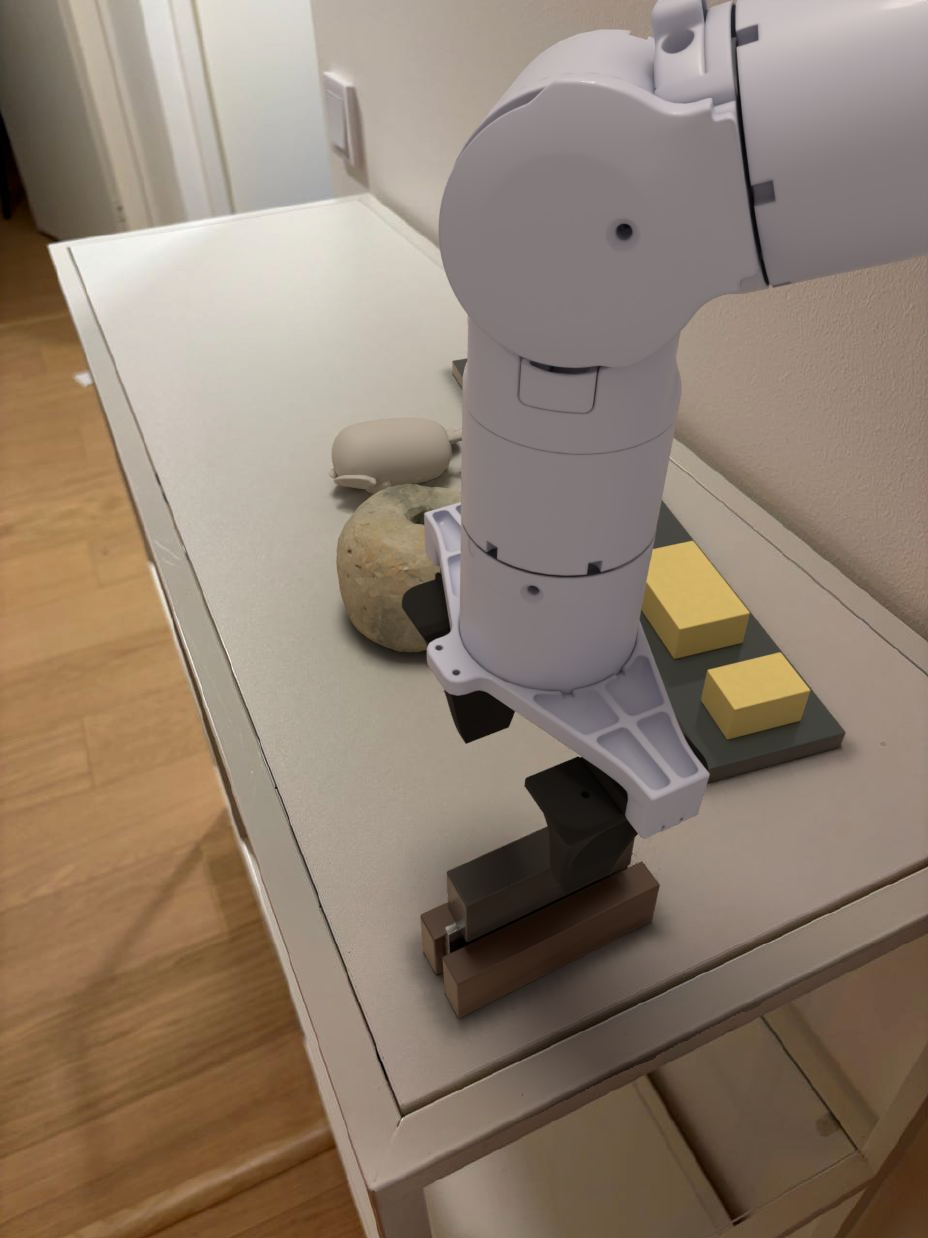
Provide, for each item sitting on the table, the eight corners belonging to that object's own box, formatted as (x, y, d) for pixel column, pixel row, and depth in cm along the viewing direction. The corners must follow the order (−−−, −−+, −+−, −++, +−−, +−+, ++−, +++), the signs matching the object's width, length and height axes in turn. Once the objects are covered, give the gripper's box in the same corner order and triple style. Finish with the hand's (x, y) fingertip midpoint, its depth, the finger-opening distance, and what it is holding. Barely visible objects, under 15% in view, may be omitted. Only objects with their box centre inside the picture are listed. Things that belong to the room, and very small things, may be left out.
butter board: (841, 747, 52) (846, 732, 51) (705, 783, 50) (709, 768, 50) (540, 358, 85) (541, 346, 84) (452, 373, 83) (452, 360, 82)
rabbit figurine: (347, 484, 65) (508, 467, 69) (332, 411, 65) (492, 399, 70) (325, 511, 70) (475, 494, 75) (311, 444, 71) (461, 431, 76)
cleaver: (631, 910, 45) (647, 822, 41) (457, 996, 42) (454, 912, 38) (609, 880, 46) (623, 791, 42) (439, 961, 43) (434, 876, 39)
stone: (503, 646, 53) (376, 511, 50) (392, 702, 60) (276, 586, 57) (564, 541, 59) (455, 418, 57) (458, 603, 66) (357, 495, 64)
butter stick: (743, 643, 56) (750, 612, 55) (673, 659, 55) (679, 629, 54) (687, 570, 61) (693, 539, 60) (623, 584, 60) (627, 553, 59)
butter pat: (801, 721, 52) (811, 690, 50) (726, 740, 51) (734, 709, 49) (771, 682, 54) (780, 651, 52) (700, 700, 53) (706, 669, 51)
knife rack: (652, 920, 45) (660, 884, 43) (458, 1019, 41) (457, 985, 39) (609, 861, 47) (614, 824, 45) (422, 949, 44) (419, 914, 42)
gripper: (338, 427, 32) (361, 706, 41) (572, 731, 22) (534, 1005, 32) (525, 380, 34) (508, 654, 43) (808, 637, 25) (709, 917, 34)
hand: (530, 798), depth 38 cm, fingers open, 7 cm apart
